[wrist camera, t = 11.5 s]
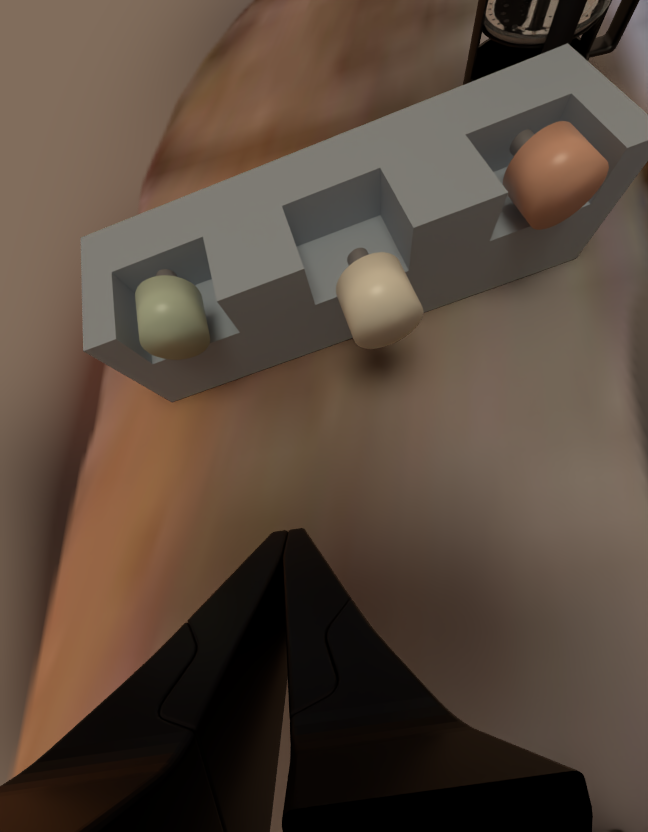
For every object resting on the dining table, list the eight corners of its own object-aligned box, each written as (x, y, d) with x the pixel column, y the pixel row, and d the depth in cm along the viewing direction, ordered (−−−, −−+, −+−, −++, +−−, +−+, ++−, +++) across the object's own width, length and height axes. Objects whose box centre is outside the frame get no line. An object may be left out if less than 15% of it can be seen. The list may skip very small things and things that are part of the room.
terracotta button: (581, 216, 18) (626, 145, 15) (518, 238, 18) (549, 175, 15) (537, 163, 20) (569, 89, 16) (480, 184, 20) (500, 116, 17)
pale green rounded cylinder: (221, 346, 19) (187, 309, 16) (167, 366, 20) (122, 334, 16) (209, 287, 21) (176, 242, 18) (159, 306, 21) (117, 265, 18)
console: (576, 258, 23) (668, 132, 16) (171, 402, 25) (83, 351, 18) (515, 179, 26) (567, 43, 19) (160, 312, 28) (80, 237, 21)
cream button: (419, 334, 17) (428, 289, 14) (356, 356, 18) (350, 317, 14) (388, 269, 19) (389, 215, 16) (331, 290, 19) (320, 241, 16)
